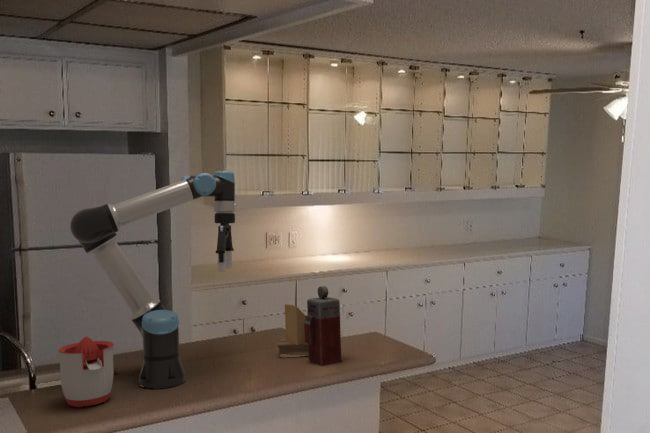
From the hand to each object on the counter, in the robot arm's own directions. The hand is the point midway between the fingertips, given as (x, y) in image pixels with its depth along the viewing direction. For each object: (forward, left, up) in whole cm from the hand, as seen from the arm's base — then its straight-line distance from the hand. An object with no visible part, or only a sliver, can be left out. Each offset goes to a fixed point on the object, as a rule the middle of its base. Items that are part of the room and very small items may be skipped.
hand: (225, 269), depth 220 cm
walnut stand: (+12, -28, -35) cm, 46 cm away
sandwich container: (+14, -29, -30) cm, 44 cm away
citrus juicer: (-41, +35, -35) cm, 64 cm away
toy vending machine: (-1, -35, -35) cm, 50 cm away
